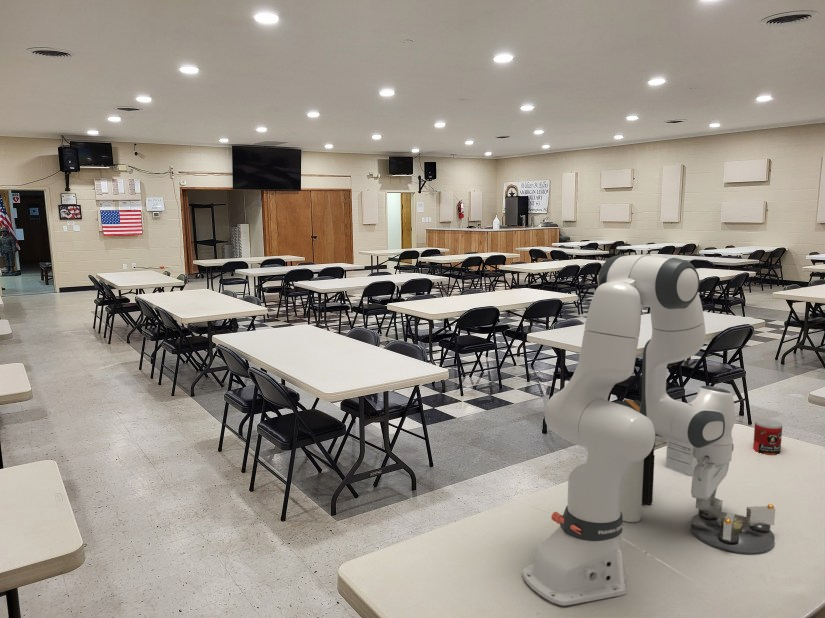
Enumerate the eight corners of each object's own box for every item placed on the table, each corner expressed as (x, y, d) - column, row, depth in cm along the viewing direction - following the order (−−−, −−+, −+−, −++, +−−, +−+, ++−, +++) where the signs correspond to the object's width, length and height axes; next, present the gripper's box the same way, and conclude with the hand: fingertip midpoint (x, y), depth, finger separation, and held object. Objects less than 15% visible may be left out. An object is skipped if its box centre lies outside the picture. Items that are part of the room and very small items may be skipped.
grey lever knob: (753, 533, 147) (754, 509, 146) (742, 524, 151) (743, 501, 150) (777, 532, 147) (779, 508, 146) (766, 523, 151) (767, 500, 150)
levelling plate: (740, 561, 138) (741, 544, 137) (673, 526, 154) (674, 510, 153) (791, 543, 146) (792, 526, 145) (723, 511, 162) (724, 496, 161)
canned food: (758, 459, 197) (760, 426, 195) (748, 450, 205) (751, 418, 203) (784, 460, 195) (787, 427, 194) (774, 451, 203) (776, 419, 202)
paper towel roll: (627, 525, 155) (631, 442, 152) (610, 514, 160) (613, 434, 157) (649, 519, 158) (653, 438, 155) (632, 509, 163) (636, 431, 160)
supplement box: (682, 463, 194) (684, 416, 192) (709, 472, 187) (712, 424, 185) (664, 469, 189) (666, 422, 187) (691, 479, 182) (694, 430, 180)
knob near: (719, 531, 148) (721, 507, 147) (740, 536, 145) (741, 512, 144) (715, 542, 143) (717, 517, 142) (737, 547, 140) (738, 522, 139)
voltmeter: (656, 506, 165) (661, 415, 161) (623, 506, 165) (627, 415, 162) (637, 482, 180) (641, 398, 177) (607, 481, 181) (610, 398, 177)
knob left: (724, 519, 154) (726, 496, 153) (713, 523, 151) (714, 500, 151) (702, 509, 159) (704, 487, 158) (691, 513, 157) (692, 490, 156)
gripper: (714, 466, 143) (711, 523, 145) (735, 442, 159) (732, 493, 160) (685, 460, 147) (682, 515, 149) (708, 437, 163) (705, 487, 164)
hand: (708, 504), depth 155 cm, fingers closed on knob left, 2 cm apart
